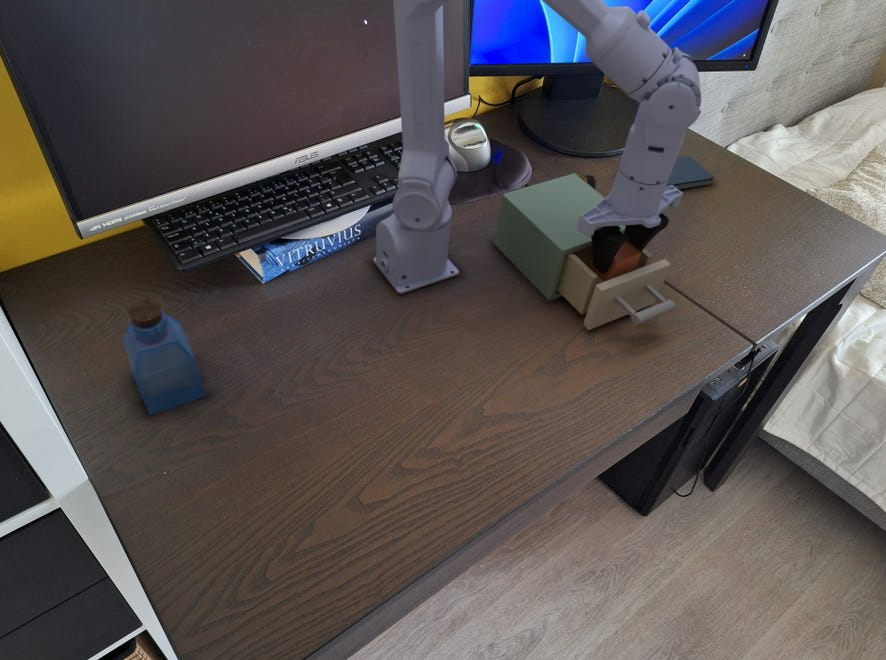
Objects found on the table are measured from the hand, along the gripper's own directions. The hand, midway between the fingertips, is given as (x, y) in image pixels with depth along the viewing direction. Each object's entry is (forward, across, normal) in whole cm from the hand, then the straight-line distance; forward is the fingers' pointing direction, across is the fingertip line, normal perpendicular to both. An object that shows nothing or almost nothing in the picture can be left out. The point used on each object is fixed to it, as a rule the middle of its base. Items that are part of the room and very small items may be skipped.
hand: (612, 263), depth 86 cm
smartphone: (+7, +30, +19) cm, 36 cm away
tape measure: (+7, +12, +20) cm, 24 cm away
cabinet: (+7, 0, +10) cm, 12 cm away
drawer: (+6, 0, 0) cm, 6 cm away
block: (+1, 0, 0) cm, 1 cm away
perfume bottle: (+7, -54, +11) cm, 56 cm away
